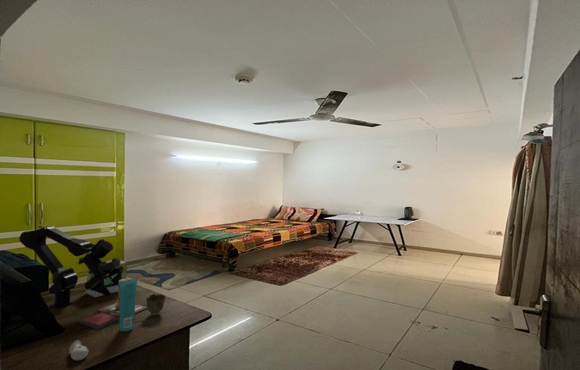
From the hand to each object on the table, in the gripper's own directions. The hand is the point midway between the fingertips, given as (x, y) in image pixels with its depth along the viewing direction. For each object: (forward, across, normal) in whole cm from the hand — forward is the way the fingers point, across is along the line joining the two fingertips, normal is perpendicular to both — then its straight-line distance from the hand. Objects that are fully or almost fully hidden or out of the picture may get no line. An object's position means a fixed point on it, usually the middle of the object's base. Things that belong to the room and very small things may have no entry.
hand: (117, 291), depth 133 cm
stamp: (+7, 0, +3) cm, 8 cm away
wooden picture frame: (+8, 0, +3) cm, 8 cm away
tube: (+16, -15, -5) cm, 23 cm away
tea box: (-7, +18, +19) cm, 27 cm away
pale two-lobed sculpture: (+14, -35, -2) cm, 37 cm away
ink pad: (+6, -12, +4) cm, 14 cm away
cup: (+19, -2, -8) cm, 21 cm away
